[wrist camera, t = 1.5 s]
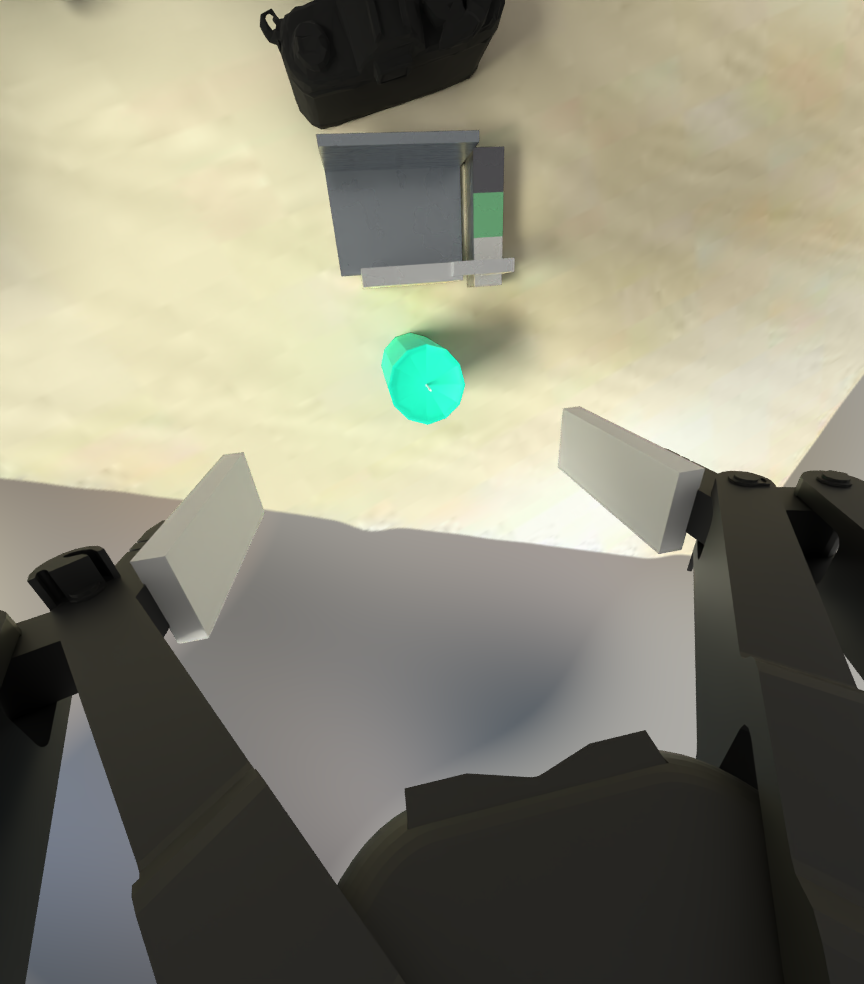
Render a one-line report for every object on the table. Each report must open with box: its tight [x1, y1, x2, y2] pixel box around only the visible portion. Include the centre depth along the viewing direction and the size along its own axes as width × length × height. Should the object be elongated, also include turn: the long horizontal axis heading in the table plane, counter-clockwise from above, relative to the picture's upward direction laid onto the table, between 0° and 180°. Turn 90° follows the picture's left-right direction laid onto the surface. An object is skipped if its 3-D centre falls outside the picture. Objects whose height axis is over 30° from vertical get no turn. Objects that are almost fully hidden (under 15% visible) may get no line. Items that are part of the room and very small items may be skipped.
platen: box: [361, 258, 515, 289], centre depth 31 cm, size 12×1×7 cm, turn 94°
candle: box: [381, 333, 465, 425], centre depth 32 cm, size 6×6×12 cm
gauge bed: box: [316, 130, 504, 287], centre depth 30 cm, size 14×9×6 cm
